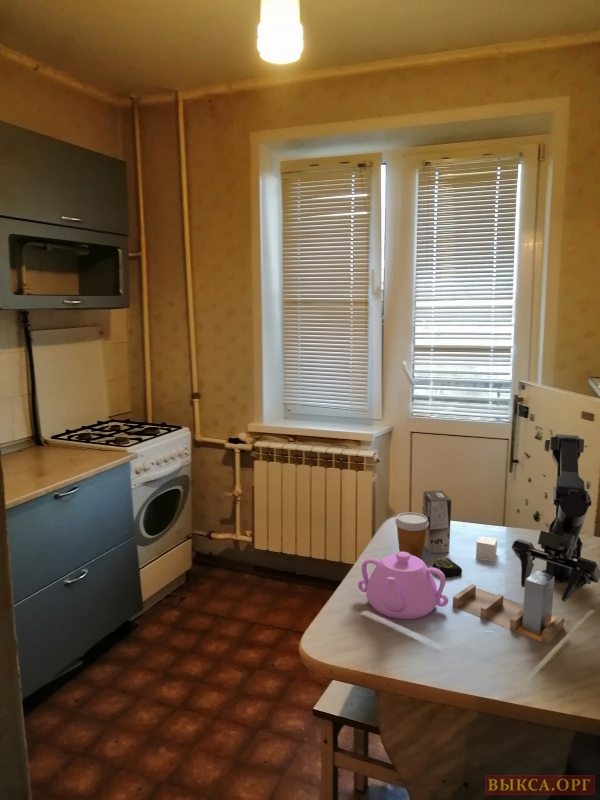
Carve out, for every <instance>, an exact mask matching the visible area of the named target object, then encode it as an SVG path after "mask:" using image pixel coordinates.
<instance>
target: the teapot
mask: <svg viewBox="0 0 600 800" xmlns="http://www.w3.org/2000/svg"><path fill="white" fill-rule="evenodd" d="M368 564H373V565H376V567H375V568H374V569H373V571H372V572H371V575H370V577H369V574H368V569H367V565H368ZM361 574H362V579H361V580H359V582H358V584H357V587H358V589H359V591H361V592H363V593H365V594H366V595H365V596H366V599H367V600H368V601H367V602H369V604H370V605H371V606H372V608H373V609H374V610H375V611H376V612H378V613H379V614H380V615H381V614H382V615H384V616H385V617H386V616H387V617H389V618H393V619H398V620H415V619H420V618H424V617H426V616H427V615H428V614H430V613H431V612H432V611H433V610H434V609H435V608H436V606H438V607H446V606H447V605H448V604H449V598H448V597H447V595H445V594H443V591H444V588H445V585H446V578H445V575H444V574H443V572H442V571H440V570H439V569H437V568H432V567H428V565H426V563H425V562H424V561H423V560H422V559H420V558H418V557H416V556H413V555H410V554H409V553H407V552H399V551H398V552H396V553H393V554H388V555H386V556H384V557H383V558H382V559H381V560H380V559H378V558H375V557H369V558H366V559H365V560H364V561H363V562H362V563H361ZM432 574H434V575H436V576H438V577H439V580H440V581H439V582H440V583H439V587H437V584H436V580H435V578H434V576H433V575H432ZM363 584H364V585H363ZM441 599H443V600H441Z"/></svg>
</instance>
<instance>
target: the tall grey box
mask: <svg viewBox="0 0 600 800" xmlns="http://www.w3.org/2000/svg"><path fill="white" fill-rule="evenodd" d="M554 578H555V576H553V575H550V574H546V573H543V572H542V571H540V570H536V571H535V572H533V573H531V574H530V576H529V577H528V578H527V579H525V587H524V595H523V605H524V608H523V623H522V630H525V631H527V632H530V633H532V634H535V635H537V636H541V635H542V631H543V630H544V629H545V628H546V627H547V626H548V625H550V624H551V616H552V615H553V603H554V602H553V601H554V588H555V580H554Z"/></svg>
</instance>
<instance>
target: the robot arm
mask: <svg viewBox="0 0 600 800" xmlns="http://www.w3.org/2000/svg"><path fill="white" fill-rule="evenodd" d="M584 448H585V439H584V438H580V437H579V435H573V434H559V433H555V434H554V436H550V438H549V451H551V459H552V460H553V462H554V464H555V465H556V480H555V481H556V483H555V486H553V487H552V493H551V494H552V495H551V496H552V497H551V498H552V499H551V500H552V501H551V502H552V505H553V506H554V505H555V506H554V508H555V509H554V510H555V511H554V512H555V513H554V519H553V520H552V522H551V523H550V525H549V526H548V528H547V529H548V530H547V531H544V530H540V533H539V536H538V540H537V544H538V545H540V548H541V549H542V550H539V549H537V548H535V546H534V545H533V543H532V542H530V541H526V540H523V539H520V538H518V539H516V540H514V541H513V543H512V545H511V549H512V551H513V552H514V554H515V556H516V557H517V558H518V559H519V561H520V565H521V578H520V579H521V583H520V585H521V588H524V589H525V579H527V578H528V577H529V576H530V575H532V570H533V568H534V565H535V564H534V562H533V561H535V560H536V559H538V560H542V561H545V562H546V565H545V569H544V570H541V572H543V573H546V574H550V575H553V576H555V578H554V581H556V582H558V583H564V582H567V581H568V583H567V585H566V587H565V589H564V591H563V594H562V598H561V601H562V602H566V601H567V600H568V599H570V597H571V596H572V595H573V594H574V593H576V592H577V591H578V590H579V589H581V588H582V587H583V586H585V585H587V584H588V585H591V584H592V582H593V583H596V584H598V583H599V581H600V567H599V566H598V564H597V562H596V561H594V560H591V559H587V558H584V557H582V555H581V554H582V549H583V543H584V542H582V540H581V537H580V533H581V530H582V528H583V525H584V523H585V519H586V515H587V512H588V509H589V507H592V498H591V495H590V494H589V491H588V490H586V486H585V481H584V480H583V478H581V477H580V476H579V475H580V474H579V459H580V457H581V454H583V453H584V452H585V451H584V450H585V449H584Z"/></svg>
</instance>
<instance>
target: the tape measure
mask: <svg viewBox="0 0 600 800" xmlns="http://www.w3.org/2000/svg"><path fill="white" fill-rule="evenodd" d="M431 568H437V569H439V570H440V571H442V572H443V574H444V575H445V579H447V578H448V579H449V578H455V577H458V576H459V577H461V576H462V574H463V569H462V567H461V566H459V564H456V563H455V562H454V561H452V560H451V559H450V558H449V557H446V558H437V559H435V560H434V561H433V562H432V564H431Z"/></svg>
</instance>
